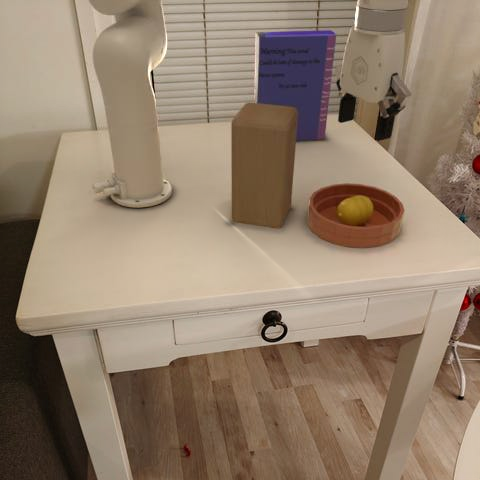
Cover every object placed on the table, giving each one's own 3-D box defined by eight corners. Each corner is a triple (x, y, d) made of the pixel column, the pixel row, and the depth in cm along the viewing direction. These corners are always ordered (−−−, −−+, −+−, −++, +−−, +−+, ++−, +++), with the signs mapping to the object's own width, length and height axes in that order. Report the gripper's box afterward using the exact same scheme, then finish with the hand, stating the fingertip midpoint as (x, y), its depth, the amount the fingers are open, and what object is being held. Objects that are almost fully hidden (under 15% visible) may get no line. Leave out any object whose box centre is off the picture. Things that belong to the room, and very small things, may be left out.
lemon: (345, 234, 99) (349, 209, 95) (328, 222, 102) (331, 197, 99) (377, 223, 102) (382, 199, 98) (359, 212, 105) (364, 187, 102)
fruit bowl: (345, 260, 93) (349, 238, 90) (289, 217, 105) (290, 196, 102) (418, 234, 100) (424, 213, 97) (358, 196, 112) (361, 176, 109)
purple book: (319, 132, 138) (330, 29, 123) (324, 140, 135) (336, 34, 119) (253, 135, 136) (255, 31, 121) (256, 143, 133) (259, 36, 117)
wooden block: (291, 207, 108) (299, 105, 95) (281, 231, 100) (288, 125, 88) (243, 200, 110) (245, 100, 97) (230, 224, 102) (229, 119, 90)
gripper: (326, 12, 87) (316, 118, 98) (402, 33, 75) (381, 151, 86) (361, 7, 90) (348, 111, 101) (440, 27, 78) (415, 142, 89)
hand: (363, 129), depth 94 cm, fingers open, 9 cm apart
